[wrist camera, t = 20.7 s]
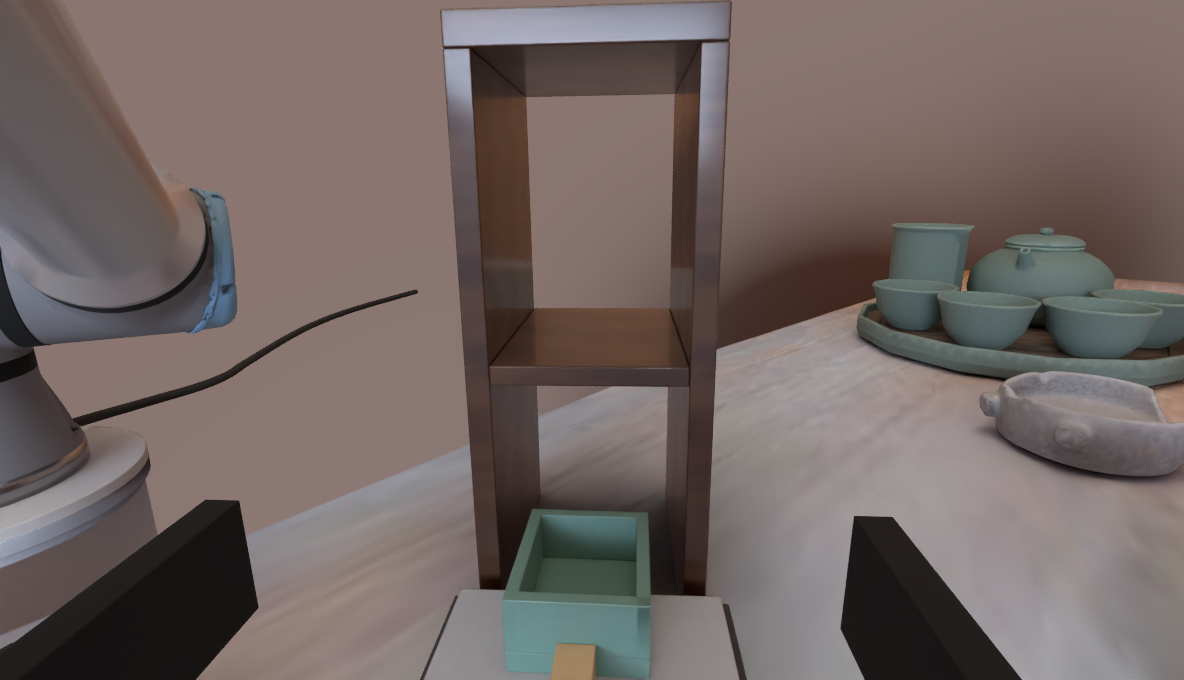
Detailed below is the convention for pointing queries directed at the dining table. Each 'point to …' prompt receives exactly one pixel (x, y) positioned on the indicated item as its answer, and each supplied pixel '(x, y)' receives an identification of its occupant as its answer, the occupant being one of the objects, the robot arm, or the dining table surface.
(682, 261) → the shelf
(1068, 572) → the dining table surface
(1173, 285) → the dining table surface
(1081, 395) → the dish
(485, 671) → the whiteboard
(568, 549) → the scoop
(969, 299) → the tea set
